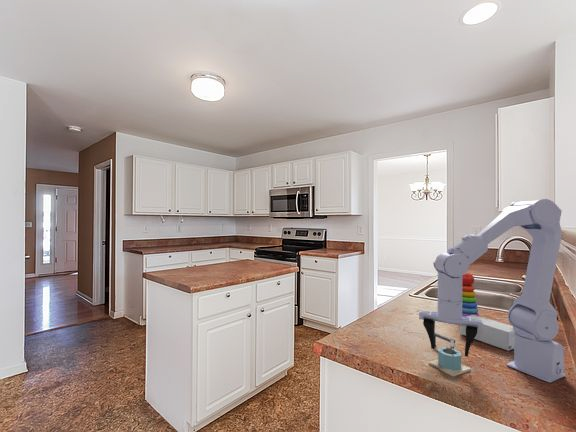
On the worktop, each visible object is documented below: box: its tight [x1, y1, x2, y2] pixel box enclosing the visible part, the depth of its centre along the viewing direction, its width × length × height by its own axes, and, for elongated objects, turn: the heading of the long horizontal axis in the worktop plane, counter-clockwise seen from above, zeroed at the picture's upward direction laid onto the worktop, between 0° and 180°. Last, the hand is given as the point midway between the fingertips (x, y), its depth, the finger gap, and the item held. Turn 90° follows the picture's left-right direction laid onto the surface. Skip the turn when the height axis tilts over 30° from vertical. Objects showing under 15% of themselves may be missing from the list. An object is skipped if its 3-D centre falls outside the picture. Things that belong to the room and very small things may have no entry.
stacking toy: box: [462, 272, 480, 317], centre depth 113 cm, size 8×8×19 cm
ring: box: [437, 346, 462, 370], centre depth 78 cm, size 5×5×4 cm
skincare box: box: [459, 315, 514, 352], centre depth 95 cm, size 8×6×15 cm
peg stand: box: [428, 346, 472, 377], centre depth 78 cm, size 7×7×5 cm
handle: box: [435, 332, 456, 349], centre depth 86 cm, size 10×6×4 cm, turn 27°
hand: (449, 351), depth 78 cm, fingers open, 7 cm apart
